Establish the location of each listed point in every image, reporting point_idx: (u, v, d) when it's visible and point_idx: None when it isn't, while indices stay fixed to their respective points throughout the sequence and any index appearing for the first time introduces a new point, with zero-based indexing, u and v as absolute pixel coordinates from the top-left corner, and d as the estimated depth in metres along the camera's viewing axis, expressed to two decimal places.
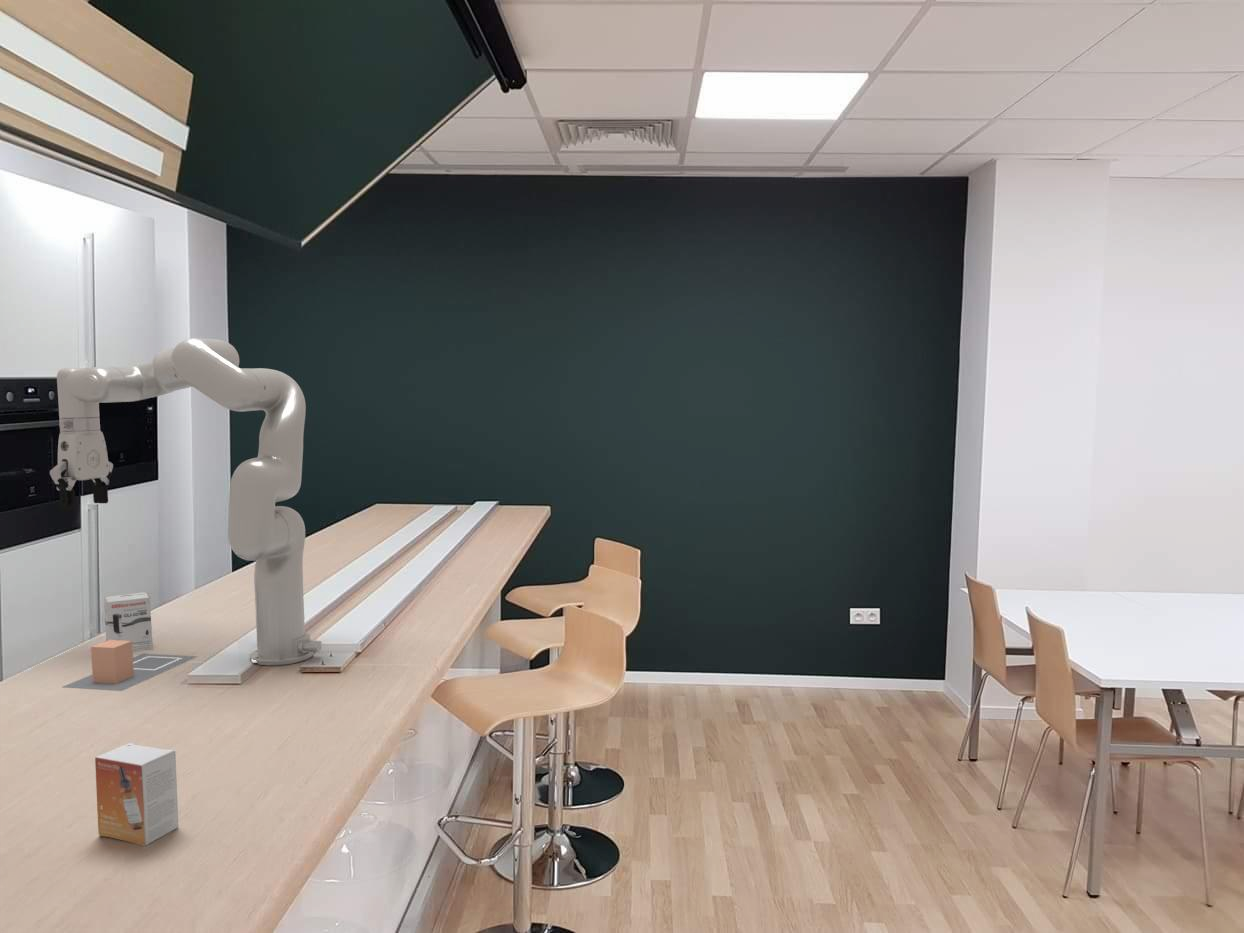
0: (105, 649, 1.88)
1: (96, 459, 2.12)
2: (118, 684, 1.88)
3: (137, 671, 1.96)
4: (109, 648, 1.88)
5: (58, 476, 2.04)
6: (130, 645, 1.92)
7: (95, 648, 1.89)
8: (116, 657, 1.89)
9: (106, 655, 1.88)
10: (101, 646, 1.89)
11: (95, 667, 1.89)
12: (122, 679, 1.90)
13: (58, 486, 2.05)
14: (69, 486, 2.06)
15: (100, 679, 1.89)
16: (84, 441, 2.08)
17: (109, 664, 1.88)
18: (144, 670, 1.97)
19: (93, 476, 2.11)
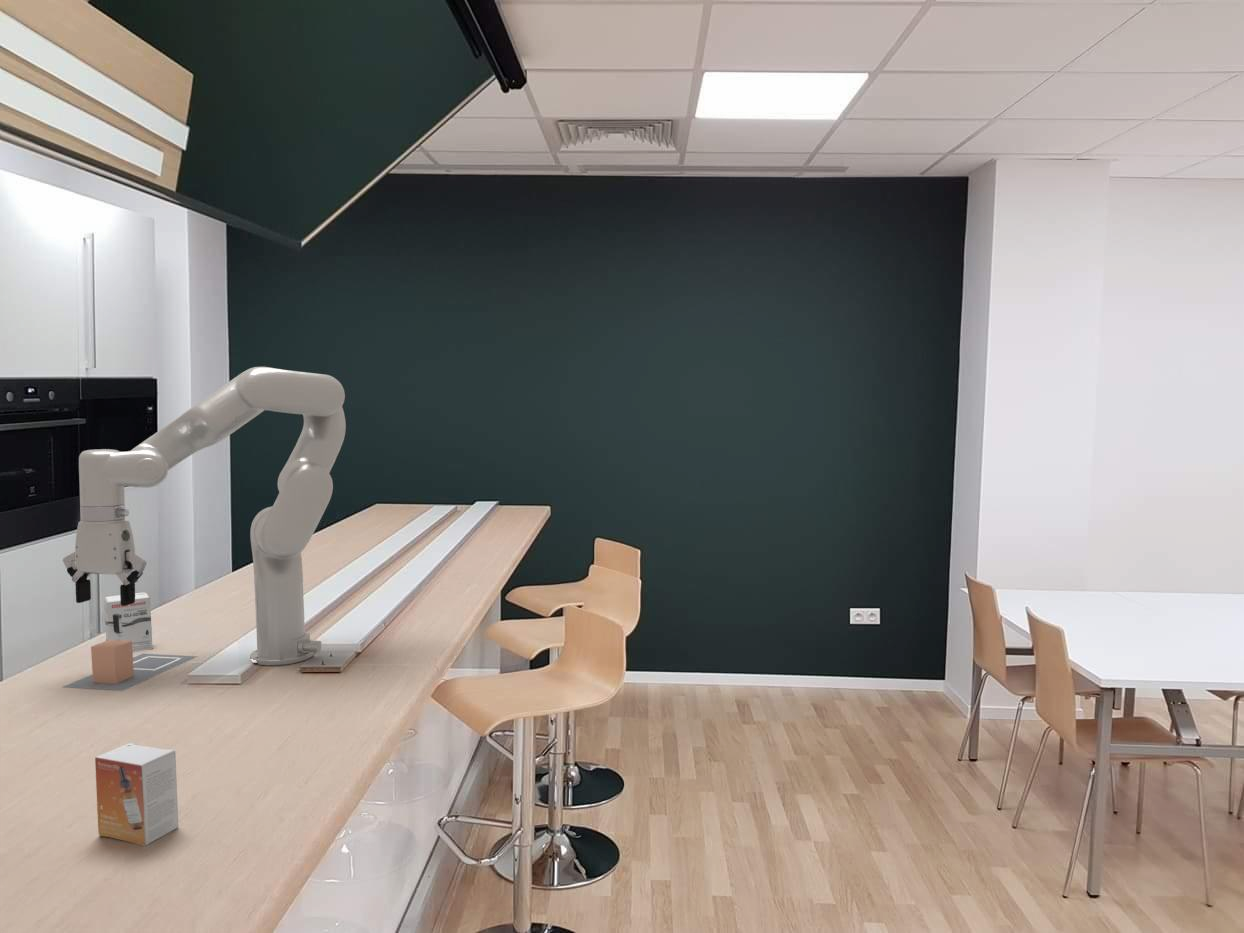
0: (105, 649, 1.88)
1: None
2: (118, 684, 1.88)
3: (137, 671, 1.96)
4: (109, 648, 1.88)
5: None
6: (130, 645, 1.92)
7: (95, 648, 1.89)
8: (116, 657, 1.89)
9: (106, 655, 1.88)
10: (101, 646, 1.89)
11: (95, 667, 1.89)
12: (122, 679, 1.90)
13: (134, 579, 1.88)
14: None
15: (100, 679, 1.89)
16: None
17: (109, 664, 1.88)
18: (144, 670, 1.97)
19: None
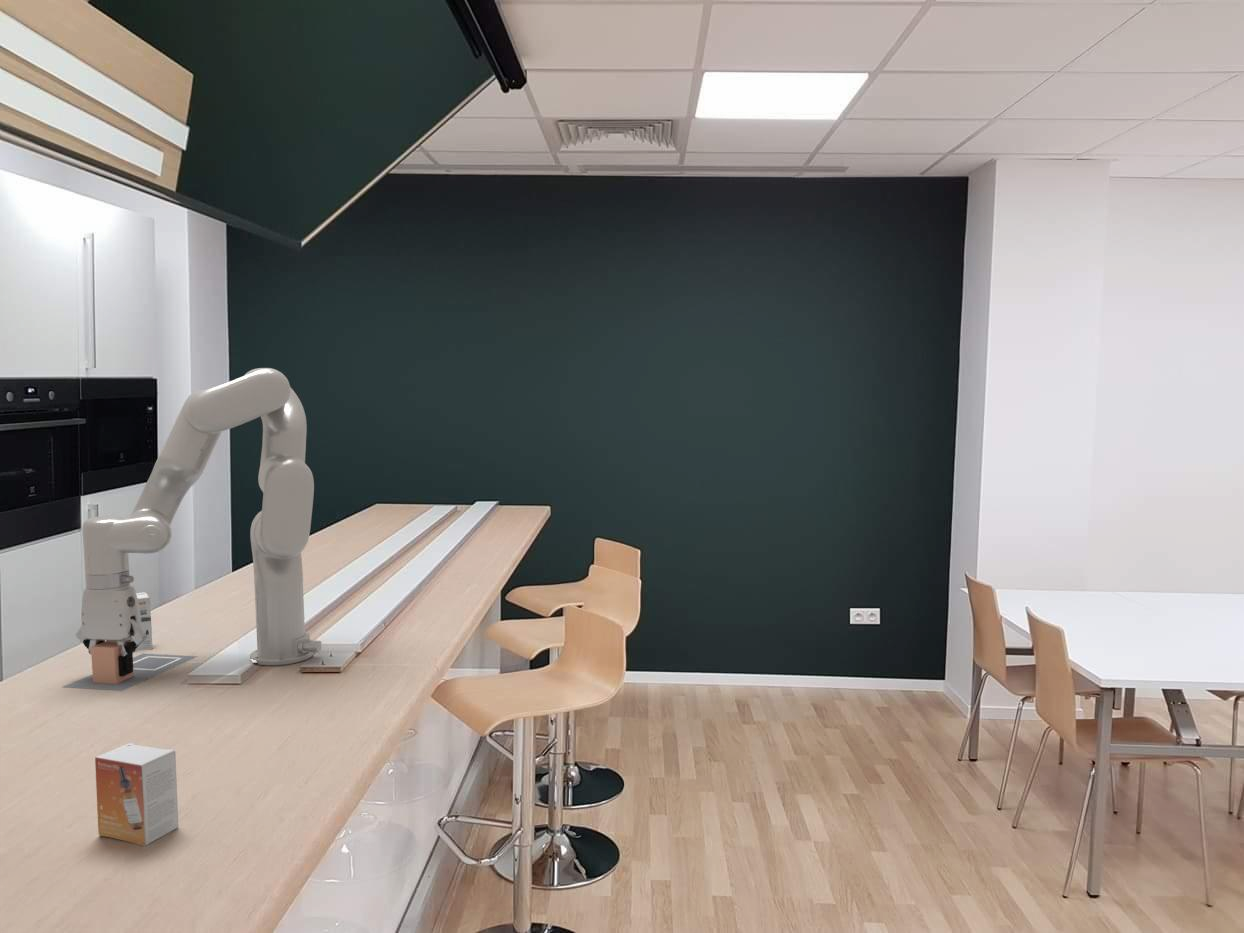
0: (105, 649, 1.88)
1: None
2: (118, 684, 1.88)
3: (137, 671, 1.96)
4: (109, 648, 1.88)
5: None
6: None
7: (95, 648, 1.89)
8: (116, 657, 1.89)
9: (106, 655, 1.88)
10: (101, 646, 1.89)
11: (95, 667, 1.89)
12: (122, 679, 1.90)
13: (132, 650, 1.90)
14: None
15: (100, 679, 1.89)
16: None
17: (109, 664, 1.88)
18: (144, 670, 1.97)
19: None
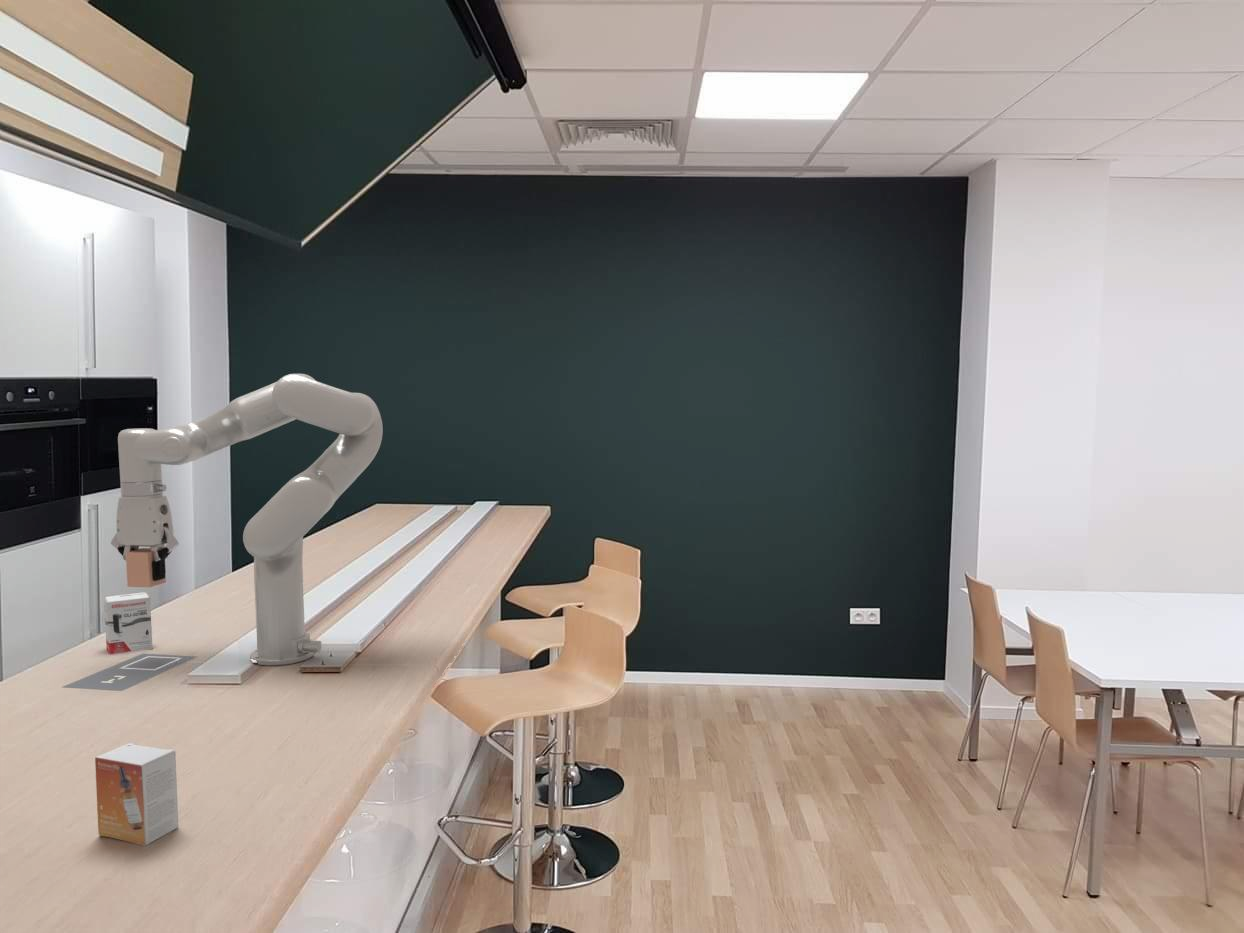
0: (140, 554, 1.97)
1: None
2: (118, 684, 1.88)
3: (137, 671, 1.96)
4: (143, 553, 1.97)
5: None
6: None
7: (129, 553, 1.98)
8: (150, 562, 1.98)
9: (140, 560, 1.97)
10: (135, 552, 1.98)
11: (129, 572, 1.98)
12: (155, 584, 1.99)
13: (165, 555, 1.99)
14: None
15: (134, 583, 1.98)
16: None
17: (143, 568, 1.98)
18: (144, 670, 1.97)
19: None
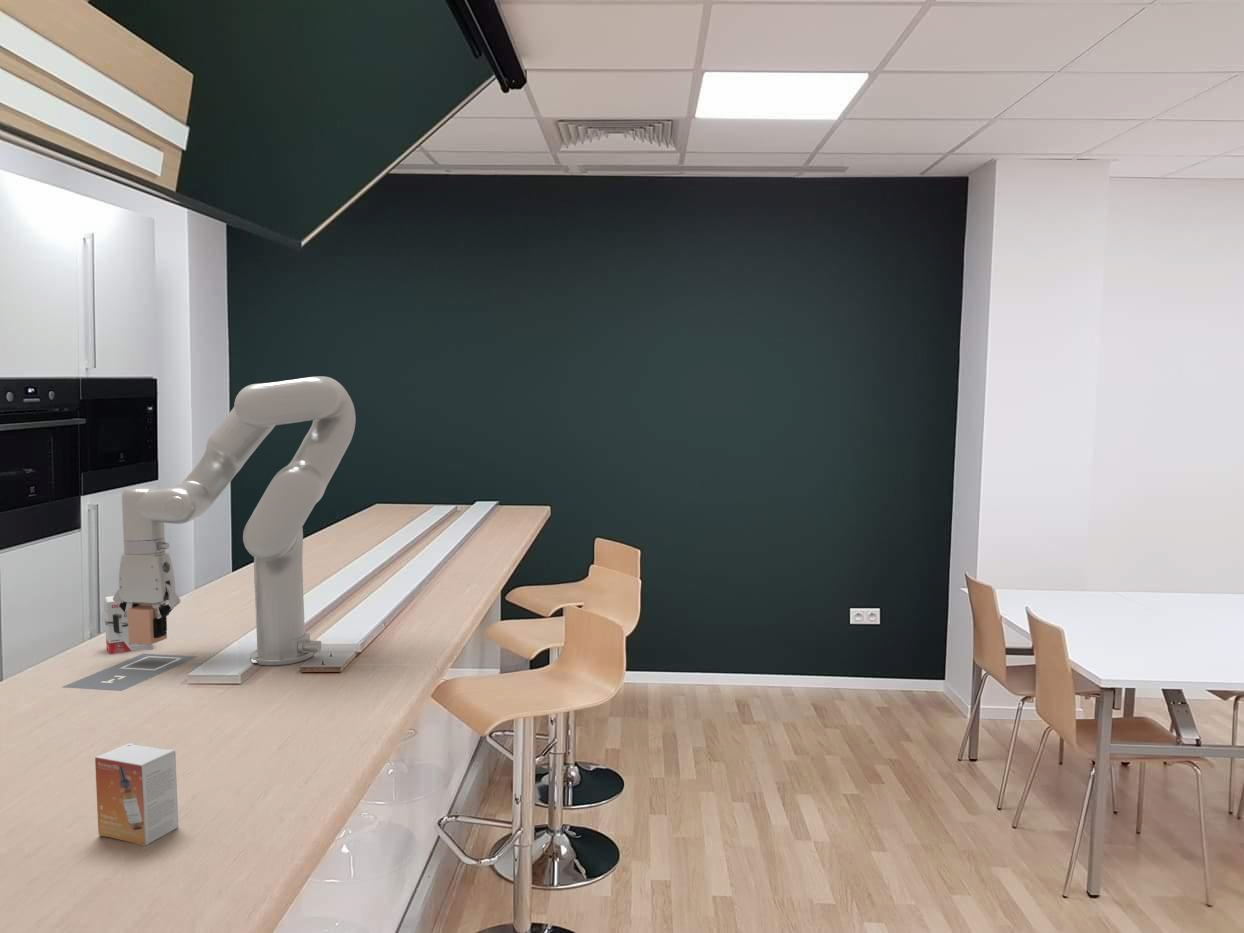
0: (141, 611, 1.98)
1: None
2: (118, 684, 1.88)
3: (137, 671, 1.96)
4: (145, 611, 1.98)
5: None
6: None
7: (131, 611, 1.99)
8: (151, 620, 1.99)
9: (142, 618, 1.99)
10: (137, 609, 1.99)
11: (131, 629, 1.99)
12: (156, 641, 2.00)
13: (166, 613, 2.00)
14: None
15: (135, 640, 1.99)
16: None
17: (144, 626, 1.99)
18: (144, 670, 1.97)
19: None
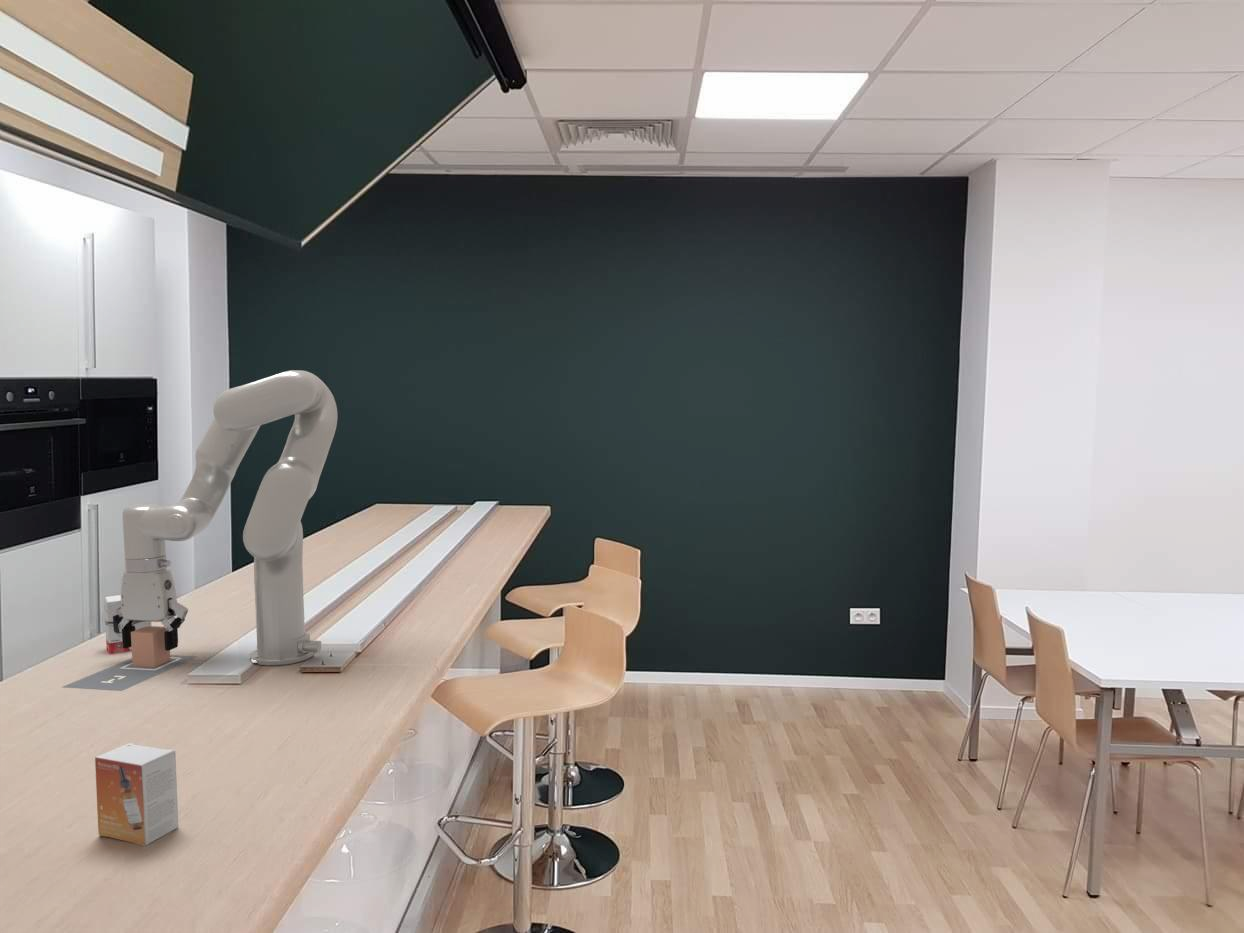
0: (145, 634, 1.99)
1: None
2: (118, 684, 1.88)
3: (137, 671, 1.96)
4: (148, 633, 1.99)
5: None
6: None
7: (135, 633, 1.99)
8: (155, 642, 1.99)
9: (145, 640, 1.99)
10: (140, 631, 2.00)
11: (135, 651, 2.00)
12: (160, 663, 2.01)
13: (177, 625, 2.00)
14: None
15: (139, 663, 2.00)
16: None
17: (148, 648, 1.99)
18: (144, 670, 1.97)
19: None
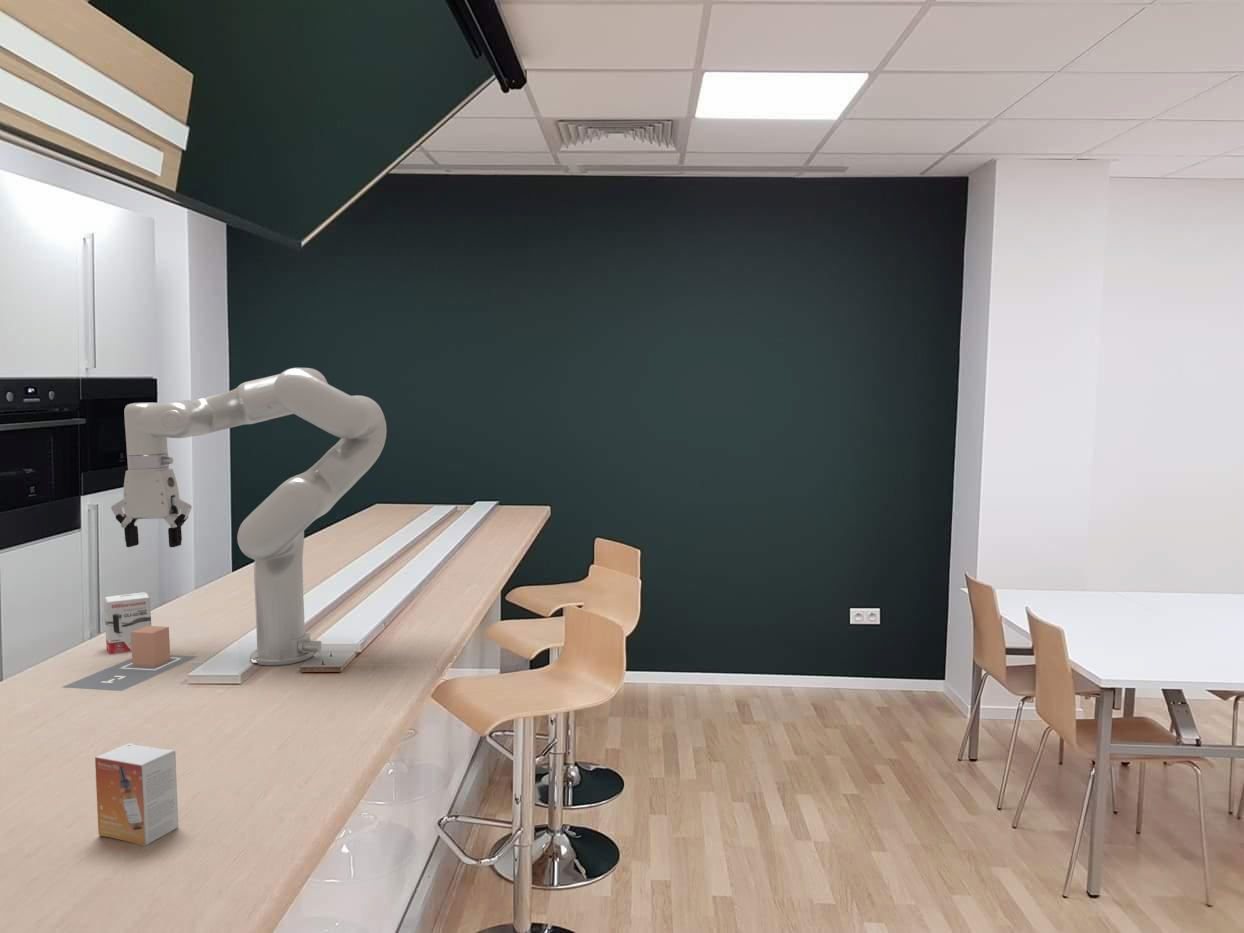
0: (145, 634, 1.99)
1: None
2: (118, 684, 1.88)
3: (137, 671, 1.96)
4: (148, 633, 1.99)
5: None
6: (167, 631, 2.03)
7: (135, 633, 1.99)
8: (155, 642, 1.99)
9: (145, 640, 1.99)
10: (140, 631, 2.00)
11: (135, 651, 2.00)
12: (160, 663, 2.01)
13: (181, 522, 2.01)
14: None
15: (139, 663, 2.00)
16: None
17: (148, 648, 1.99)
18: (144, 670, 1.97)
19: None
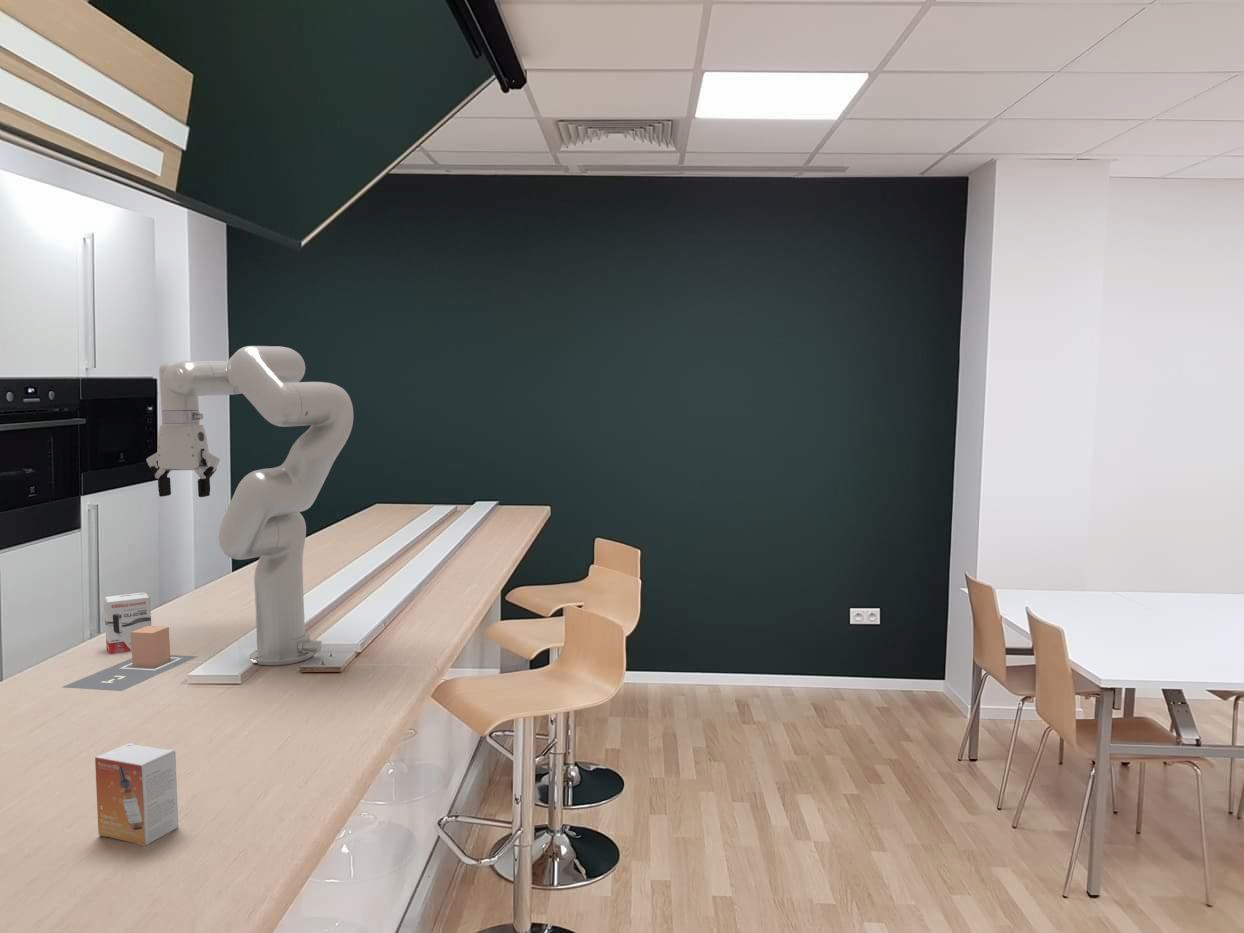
0: (145, 634, 1.99)
1: None
2: (118, 684, 1.88)
3: (137, 671, 1.96)
4: (148, 633, 1.99)
5: None
6: (167, 631, 2.03)
7: (135, 633, 1.99)
8: (155, 642, 1.99)
9: (145, 640, 1.99)
10: (140, 631, 2.00)
11: (135, 651, 2.00)
12: (160, 663, 2.01)
13: (210, 474, 2.16)
14: None
15: (139, 663, 2.00)
16: None
17: (148, 648, 1.99)
18: (144, 670, 1.97)
19: None
